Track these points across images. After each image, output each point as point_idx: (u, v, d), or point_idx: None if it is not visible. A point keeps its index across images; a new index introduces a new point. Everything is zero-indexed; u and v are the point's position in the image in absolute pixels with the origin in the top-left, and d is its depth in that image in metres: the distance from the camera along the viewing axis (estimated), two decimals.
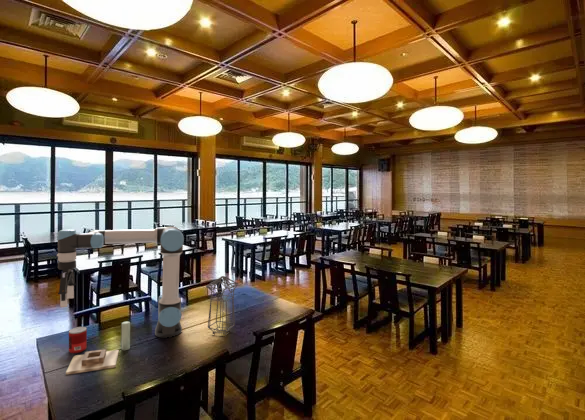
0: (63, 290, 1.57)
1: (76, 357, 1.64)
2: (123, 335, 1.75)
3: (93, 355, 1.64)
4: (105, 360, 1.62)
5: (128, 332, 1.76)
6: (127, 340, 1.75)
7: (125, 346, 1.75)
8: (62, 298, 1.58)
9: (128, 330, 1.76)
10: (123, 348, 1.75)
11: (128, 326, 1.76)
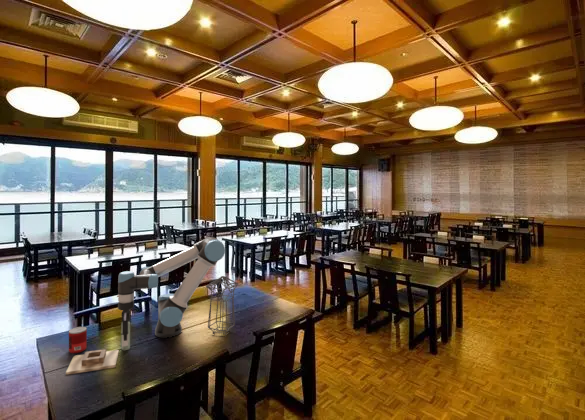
0: (126, 332, 1.71)
1: (76, 357, 1.64)
2: None
3: (93, 355, 1.64)
4: (105, 360, 1.62)
5: (128, 332, 1.76)
6: None
7: (125, 346, 1.75)
8: (124, 338, 1.73)
9: (128, 330, 1.76)
10: (123, 348, 1.75)
11: (128, 326, 1.76)
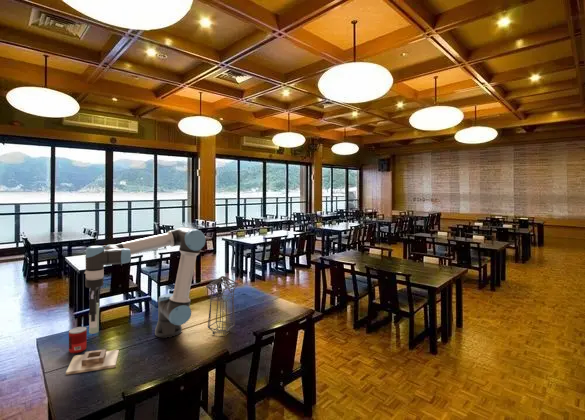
0: (93, 311, 1.55)
1: (76, 357, 1.64)
2: None
3: (93, 355, 1.64)
4: (105, 360, 1.62)
5: None
6: None
7: (93, 329, 1.59)
8: (92, 319, 1.57)
9: (96, 312, 1.60)
10: (91, 331, 1.59)
11: (96, 307, 1.60)
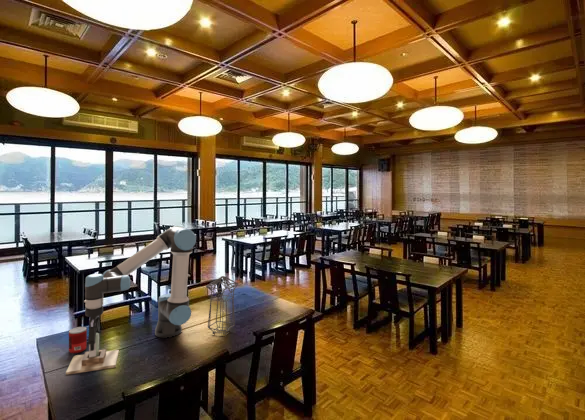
0: (92, 340, 1.54)
1: (76, 357, 1.64)
2: None
3: None
4: (105, 360, 1.62)
5: (96, 345, 1.61)
6: None
7: None
8: (91, 348, 1.55)
9: (96, 342, 1.61)
10: None
11: (96, 338, 1.60)
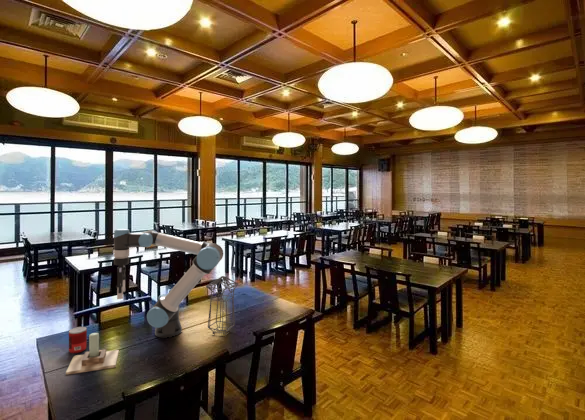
0: (120, 283, 1.74)
1: (76, 357, 1.64)
2: (91, 348, 1.59)
3: None
4: (105, 360, 1.62)
5: (96, 345, 1.61)
6: (95, 353, 1.60)
7: None
8: (119, 291, 1.75)
9: (96, 342, 1.61)
10: None
11: (96, 338, 1.60)
